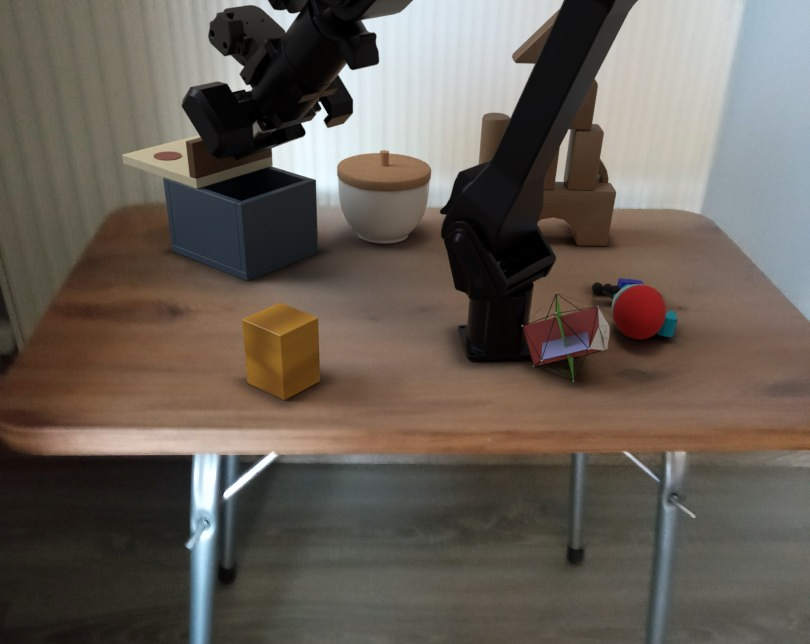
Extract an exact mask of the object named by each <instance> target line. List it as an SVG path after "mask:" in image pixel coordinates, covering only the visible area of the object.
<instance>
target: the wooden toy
mask: <svg viewBox="0 0 810 644" xmlns="http://www.w3.org/2000/svg"><path fill="white" fill-rule="evenodd" d="M559 10H560V8H559V9H558V10H557V11H556V12H555V13H553V14H552V15H551V17H549V18H548V19H547V20H546V21H545V22H544V23H543V24H542V25H541V26H540V27H539V28H538V29H537V30H536V31H535V32H533V34H532V35H531V36H529V38H528V39H526V40H525V41H524V42H523V43H522V44H521V45H520V46H519V47H518V48H517V49H516V50H515V51H514V52H513V53H512V55H511V59H512V60H513V62H514V63H515V64H523V65H525V64H528V65H535V63H536V60H537V58H538V56H539V54H540V52H541V49H542V47H543V45H544V43H545V41H546V38H547V36H548V34H549V32H550V30H551V27H552V25H553V23H554V21H555V19H556V16H557V14H558V12H559ZM598 89H599V82H598V81H597V80H596V78H595V79H594V81H593V83H592V85H591V87H590V89H589V91H588V93H587V95H586V97H585V99H584V101H583V103H582V104H581V106H580V108H579V110H578V112H577V114H576V116H575V118H574V120H573V122H572V124H571V126H570V128H569V130H568V131H569V137H568V145H567V152H566V158H565V165H564V173H563V181H556V179H557V171H558V165H559V156H560V150H561V146H560V147H559V149H558V151H557V153H556V155H555V157H554V159H553V161H552V163H551V165H550V167H549V169H548V171H547V173H546V175H545V178H544V204H543V208H542V211H541V214H540V217H539V220H538V222H540V221H541V220H548V219H558V220H562V221H564V222H565V223H567V224H568V228H569V230H570V232H571V236H572V238H573V240H574V241H575V244H576V246H582V247H583V246H585V247H586V246H587V247H588V246H589V247H590V246H591V247H606V246H607V245H608V241H609V235H610V231H611V226H612V219H613V213H614V208H615V204H616V197H617V191H616V189H615V187H614V186H613V184H612V183H611V182H609V174H608V170H607V168H606V166H605V164H604V162H603V161H602V158H601V156H602V155H601V154H602V148H603V143H604V137H605V131H604V130H603V128H602V127H601V125H600V124H598V123H594V115H595V108H596V102H597V96H598ZM510 118H511V116H509V115H508V114H506V113H502V112H488V113H485V114H483V116H482V118H481V129H480V141H479V154H478V165H479V164H481V163H484V162H486V161H489V160H491V159H492V157H493V155H494V153H495V151H496V149H497V146H498V144H499V142H500V140H501V138H502V135H503V133H504V131H505V129H506V127H507V124H508V122H509V120H510Z"/></svg>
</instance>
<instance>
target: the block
mask: <svg viewBox="0 0 810 644" xmlns="http://www.w3.org/2000/svg"><path fill="white" fill-rule="evenodd" d="M241 323H242V335H243V346H244V347H243V348H244V354H245V355H244V358H245V369H246V370H245V371H246V379H247V384H248V385H251V386H253V387H255V388H256V389H259V390H262V391H264V392H266V393H268V394H270V395H272V396H275V397H277V398H279V399H281V400H283V401H286V400H288V399H289V398H292V397H294V396H296V395H297V394H299V393H300V392H303V391H304V390H305V391H306V390H307V389H309V388H310V387H312V386H314V385H316V384H318V383H319V382H321V363H320V361H321V360H320V333H319V317H317V316H314V315H312V314H310V313H307V312H304V311H302V310H300V309H298V308H295V307H292V306H290V305H287V304H285V303H282V302H278V303H276V304H274V305H271V306H268V307H266V308H265V309H262V310H260V311H258V312H255V313H253V314H251V315H248V316H246V317H244V318H242V320H241Z"/></svg>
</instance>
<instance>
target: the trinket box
mask: <svg viewBox="0 0 810 644" xmlns="http://www.w3.org/2000/svg"><path fill="white" fill-rule="evenodd" d="M336 176H337V180H338V181H337V182H338V184H337V185H338V188H337V189H338V198H339V203H340V208H341V211H342V213H343V216H344V218H345V221H346V222H347V224H348V225H349V226H350V227H351V228H352V229H353V230H354V232H355V233H356V234H357V237H358V238H359V239H361V240H363V241H366V242H369V243H373V244H381V245H382V244H383V245H384V244H387V245H388V244H395V243H400V242H403V241H405V240H407V239H408V238H409V234H411V233H412V232H413V231H415V229H416V228H417V227H418V226H419V224H420V223H421V221H422V220H423V218H424V215H425V213H426V210H427V205H428V202H429V195H430V186H431V185H430V183H431V181H430V180H431V178H432V167H431V166H430V164H428V163H427V162H426V161H423V160H422V159H419V158H416V157H413V156H410V155H405V154H400V153H390V151H389V150H386V149H384V150H380V151H379V152H371V153H370V152H369V153H361V154H356V155H351V156H348V157H346V158H344V159H342V160H340V161H339V162H338V164H337V166H336Z"/></svg>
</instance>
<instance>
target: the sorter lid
mask: <svg viewBox="0 0 810 644" xmlns="http://www.w3.org/2000/svg"><path fill="white" fill-rule="evenodd" d="M121 156H122V161H123V164H124V165H126V166H129V167H131V168H135V169H137V170H140V171H143V172H147V173H148V174H149V173H150V174H152V175H156V176H158V177H161V178H167V179H170V180H173V181H176V182H179V183H182V184H185V185H187V186H190V187H193V188H196V189H198V188H201V187H205V186H208V185H211V184H215V183H218V182H221V181H224V180H228V179H231V178H234V177H237V176H241V175H244V174H247V173H251V172H254V171H257V170H260V169H264V168H267V167H270V166H272V167H274V166H273V164H274V163H273V148H271V149H268V150H266V151H263V152H260V153H258V154H255V155H252V156H250V157H247V158H244V159H241V160H238V161H237V160H236V159H235V158H234V156H233V155H232V156H228V157H225V158H221V159H218V158H216V157H214V156H213V155H211V153H210V152H209V150H208V148H207V147H206V145H205V144H204V142H203V140H202V139H201V137H200V136H199V134H197V135H193V136H189V137H186V138H181V139H178V140H174V141H173V140H172V141H170V142H166V143H162V144H158V145H154V146H150V147H146V148H143V149H139V150H135V151H131V152H127V153H123V154H121Z"/></svg>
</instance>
